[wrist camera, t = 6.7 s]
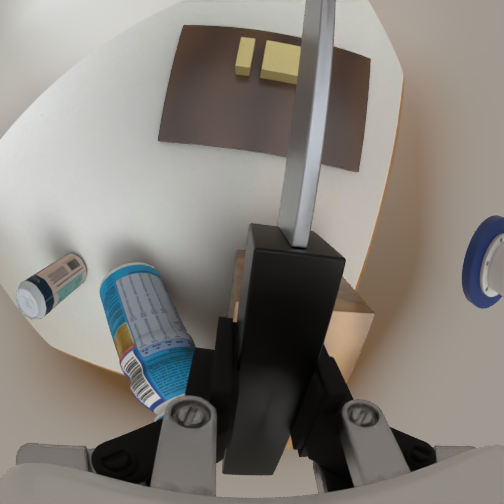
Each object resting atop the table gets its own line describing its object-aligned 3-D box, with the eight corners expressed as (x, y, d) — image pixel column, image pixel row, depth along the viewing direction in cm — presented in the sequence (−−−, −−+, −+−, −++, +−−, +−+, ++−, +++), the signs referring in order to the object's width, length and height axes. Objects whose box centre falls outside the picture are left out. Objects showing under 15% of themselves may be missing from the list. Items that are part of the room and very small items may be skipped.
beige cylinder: (60, 252, 33) (9, 282, 22) (85, 253, 33) (35, 286, 22) (65, 282, 35) (19, 319, 23) (90, 285, 35) (46, 326, 23)
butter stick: (321, 62, 27) (328, 53, 24) (318, 89, 28) (325, 82, 25) (264, 50, 26) (266, 40, 23) (259, 78, 27) (261, 69, 24)
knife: (267, 428, 12) (273, 475, 9) (223, 425, 12) (222, 474, 9) (339, -26, 6) (364, -66, 3) (286, -39, 6) (299, -83, 3)
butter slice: (254, 48, 26) (255, 38, 23) (249, 76, 27) (250, 67, 24) (240, 47, 26) (241, 36, 23) (235, 74, 27) (234, 65, 24)
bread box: (329, 262, 35) (375, 313, 22) (296, 379, 41) (313, 447, 27) (236, 249, 34) (235, 300, 21) (220, 373, 40) (215, 446, 26)
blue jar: (148, 248, 30) (235, 416, 19) (167, 286, 37) (240, 420, 26) (85, 279, 27) (146, 455, 17) (114, 312, 34) (174, 451, 23)
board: (367, 61, 28) (370, 58, 27) (354, 172, 32) (358, 172, 31) (185, 29, 26) (183, 25, 25) (160, 141, 30) (157, 140, 29)
